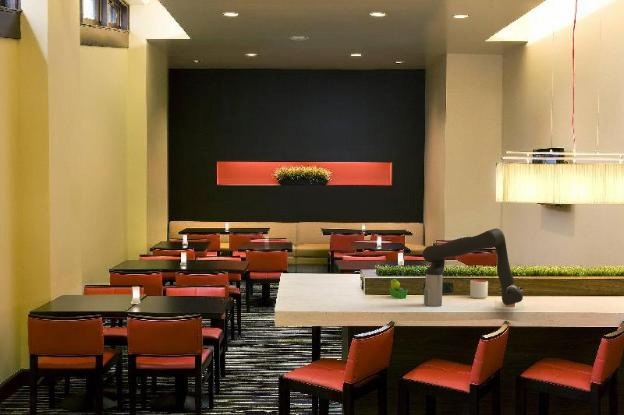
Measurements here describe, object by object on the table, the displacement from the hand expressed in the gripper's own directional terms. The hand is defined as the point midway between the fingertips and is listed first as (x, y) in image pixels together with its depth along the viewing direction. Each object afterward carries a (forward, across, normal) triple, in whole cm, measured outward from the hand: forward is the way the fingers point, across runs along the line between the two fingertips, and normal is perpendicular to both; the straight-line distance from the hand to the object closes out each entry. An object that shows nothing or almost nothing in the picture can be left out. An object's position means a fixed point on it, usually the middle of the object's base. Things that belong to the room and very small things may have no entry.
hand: (510, 287), depth 452 cm
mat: (+2, 0, +11) cm, 11 cm away
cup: (+27, +18, +11) cm, 34 cm away
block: (-3, 0, +8) cm, 9 cm away
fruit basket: (+13, +64, +11) cm, 66 cm away
